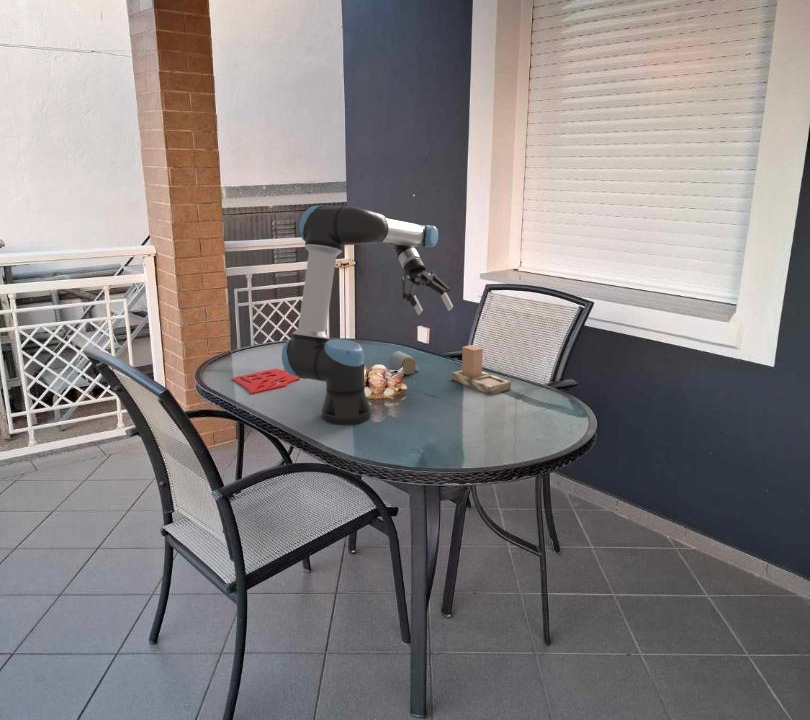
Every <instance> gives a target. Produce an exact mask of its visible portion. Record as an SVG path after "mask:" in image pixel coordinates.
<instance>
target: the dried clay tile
mask: <svg viewBox="0 0 810 720" xmlns="http://www.w3.org/2000/svg"><path fill="white" fill-rule="evenodd" d="M478 381H480V382H483V383H485V384H488V385H494V384H498V383H501V382H498V381H495V380H493V379H490V378H487V379H482V380H478Z"/></svg>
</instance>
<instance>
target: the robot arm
mask: <svg viewBox="0 0 810 720" xmlns="http://www.w3.org/2000/svg"><path fill="white" fill-rule="evenodd" d="M298 231H299V233H300V238H301V239H302V240H303V241H304V247H305V249H306V250H307V251H308V256H307V262H306V263H307V265H306V270H305V277H304V285H303V292H302V299H301V300H302V301H301V307H300V312H299V313H300V314H299V320H298V327H297V329H296V330H295V331H293V332H292V336H291V338H290V339H287V340H286V341H285V343H284V345H283V347H282V349H281V362H282V366H283V367H284V370H285V371H287V373H289V374H291V375H293V376H296V377H298V378H300V379H306V378H307V379H309V380H314V381H319V382H325V385H326V388H325V389H326V395H325V397H324V400H323V405H322V408H321V418H322V420H323V421H325V422H326V423H329V424H333V425H342V426H343V425H348V426H349V425H356V424H360V423H363V422H366V421H367V420H370V419H371V415H372V409H371V406H370V403H369V401H368V398H367V396H366V395H367V394H366V391H365V357H364V354H365V353H364V349H363V347H362V345H361V344H360V343H357V342H355V341H352V340H348V339H339V338H337V339H330V337H329V335H328V334H327V332H326V331H327V325H328V319H329V318H328V317H329V312H330V303H331V296H332V289H333V283H334V277H335V276H334V275H335V267H336V260H337V257H338V256H339V255H340V254H342V253H343V246H355V245H357V246H358V245H368V244H370V245H379V244H381V243H383V244H385V245H386V246H387V247H389V248H390V249H391V250H393V251H394V253H395V255H396V258H397V259H398V261H399V263H400V265H401V267H402V269H403V272H404V273H403V275H402V277H401V279H400V280H401V281H402V299H404V300H405V299H406V301H407V302H409V303H410V305H411V307H413V309H414V310H415V312H416V315H419V316H420V315H421V314H422V312H423V311H424V310H423V308H422V306H421V304H420V301H419V300H418V297H417V296H416V295H414V293H415V291H416V287H420V286H426V287H429V288H431V289H432V290H433V291H435V292H437V293H438V294H440V298H441V299H442V302H443V303H444V305H445V307H446V309H447V311H448V312H450V311H451V310H452V309H453V308H454V305H453V303H452V301H451V297H450V294H449V292H450V291H451V287H449V286H448V285H447V284H446V283H445V282H444V281H443V280H442V279H441V278H440V277H439V276H437V274H436V273H435V271H433V270H432V271H431V272H427V270H426V266H425V264H424V262H423V260H422V258H421V256H420V255H419V252H418V251H417V248H416V247H418V248H434V247H435V246H436V245H437V244H438V240H439V230H438V228H437V227H436V226H435V225H429V224H425V225H424V224H417V223H412V222H407V221H402V220H397V219H392V218H387V217H386V216H384V215H383V214H382V213H378V212H376V211H375V212H374V211H371V210H367V209H364V208H361V207H355V206H343V205H342V206H341V205H325V204H322V205H314V206H313V205H312V206H311V207H308V209H306V210H305V211H304V212H303V213H302V216H301V218H300V220H299V230H298ZM409 281H410V282H411V285H410V289H409ZM307 379H306V380H307Z"/></svg>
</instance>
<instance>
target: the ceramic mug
mask: <svg viewBox="0 0 810 720" xmlns="http://www.w3.org/2000/svg"><path fill="white" fill-rule="evenodd" d="M388 367H389V368H390V369H391V371H393V370H399V369H400V368H402V367H403V368H404V372H405V376H410V375H411V374H413V372H414V371H417V372H418V371H419V369H420V367H419V366H418V365H417V362H416V360H415V359H414V357H412V356H411V355H409V354H407V353H404V352H403V351H399V350H398V351H394V352H393V353H392V354H391V355H390V356H389V358H388Z"/></svg>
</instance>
